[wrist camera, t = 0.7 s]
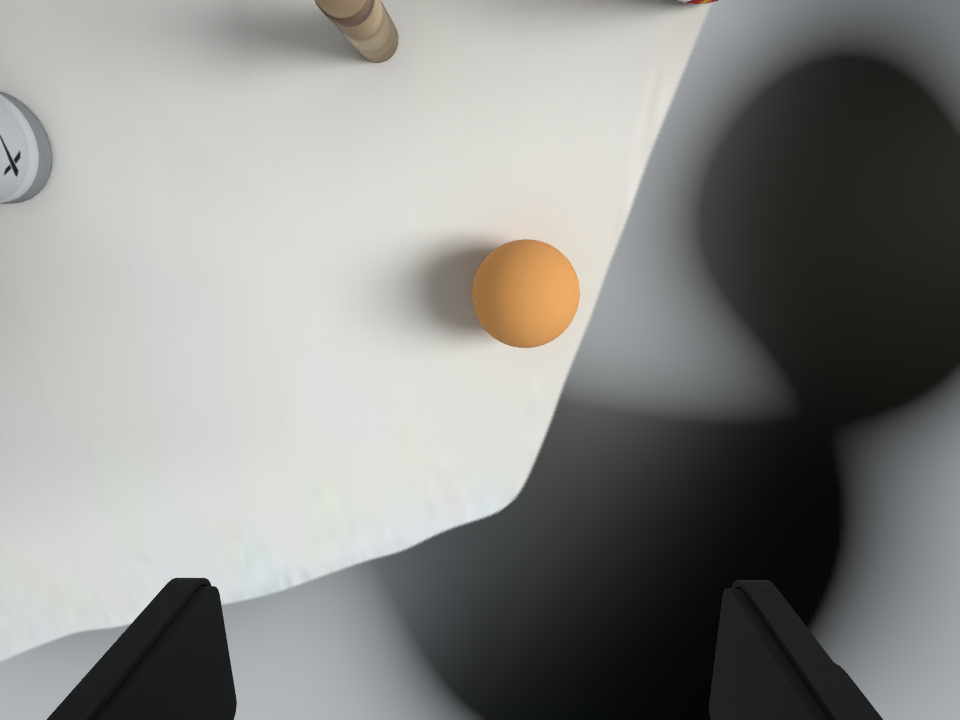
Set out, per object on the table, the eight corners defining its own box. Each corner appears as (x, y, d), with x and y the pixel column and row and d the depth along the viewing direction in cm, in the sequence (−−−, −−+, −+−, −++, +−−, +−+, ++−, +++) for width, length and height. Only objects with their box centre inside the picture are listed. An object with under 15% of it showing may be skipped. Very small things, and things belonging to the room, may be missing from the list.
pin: (382, 2, 29) (337, -80, 21) (407, 46, 30) (373, -17, 21) (345, 30, 29) (286, -40, 21) (370, 73, 30) (323, 20, 22)
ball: (541, 217, 32) (551, 218, 26) (589, 303, 33) (608, 323, 27) (455, 270, 33) (446, 282, 27) (505, 351, 34) (507, 380, 28)
